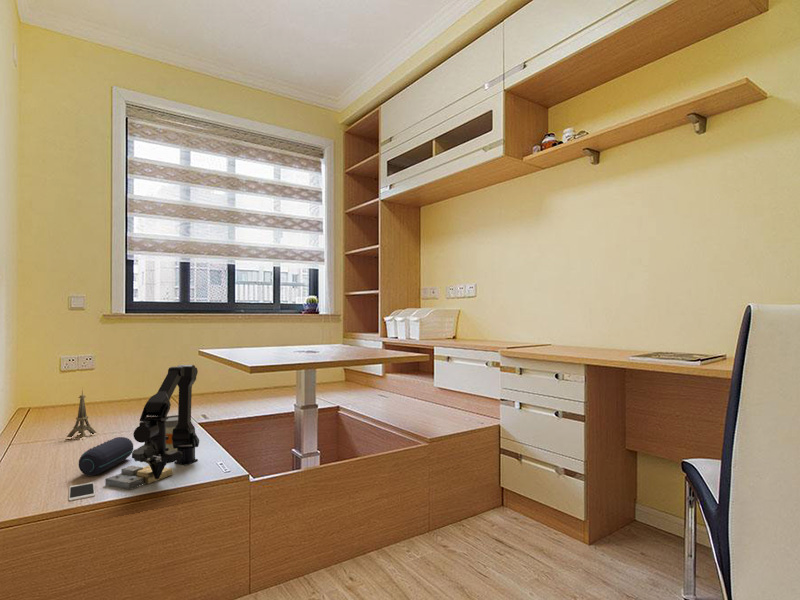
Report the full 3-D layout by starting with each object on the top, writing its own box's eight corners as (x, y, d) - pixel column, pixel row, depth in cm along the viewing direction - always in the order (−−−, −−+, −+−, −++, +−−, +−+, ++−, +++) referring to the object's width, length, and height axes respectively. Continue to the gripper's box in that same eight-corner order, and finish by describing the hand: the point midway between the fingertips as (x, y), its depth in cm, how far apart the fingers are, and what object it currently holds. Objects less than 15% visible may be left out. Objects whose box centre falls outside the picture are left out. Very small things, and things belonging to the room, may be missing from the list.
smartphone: (68, 502, 151) (68, 499, 151) (69, 488, 164) (69, 486, 164) (95, 497, 155) (95, 494, 155) (93, 484, 168) (93, 481, 168)
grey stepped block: (131, 476, 174) (131, 465, 174) (154, 480, 170) (154, 469, 170) (105, 485, 165) (105, 474, 165) (129, 489, 160) (129, 478, 160)
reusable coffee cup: (150, 454, 201) (151, 420, 202) (174, 447, 213) (174, 414, 214) (173, 457, 197) (173, 422, 198) (195, 449, 209) (195, 415, 209)
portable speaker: (112, 458, 197) (112, 434, 198) (136, 458, 198) (136, 434, 198) (72, 479, 172) (73, 452, 173) (100, 478, 173) (100, 451, 173)
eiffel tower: (99, 434, 239) (99, 385, 240) (83, 440, 228) (83, 389, 229) (80, 434, 240) (80, 385, 241) (63, 439, 229) (64, 389, 230)
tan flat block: (149, 470, 180) (149, 460, 180) (172, 474, 175) (172, 464, 175) (124, 479, 170) (124, 469, 170) (148, 483, 165) (148, 473, 165)
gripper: (118, 438, 163) (117, 483, 163) (156, 443, 156) (156, 490, 156) (145, 430, 174) (145, 473, 173) (183, 435, 167) (183, 479, 166)
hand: (157, 478), depth 167 cm, fingers closed
